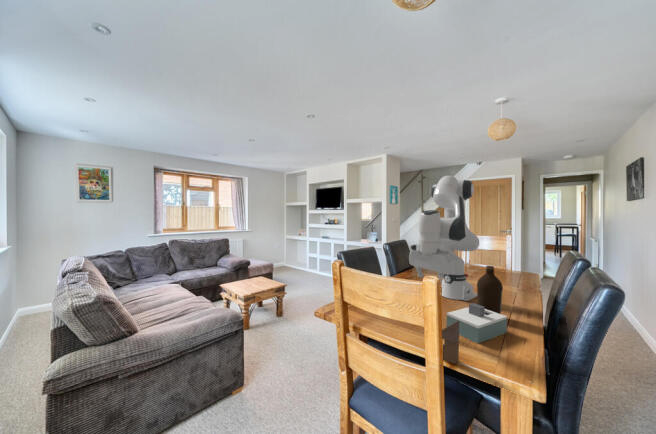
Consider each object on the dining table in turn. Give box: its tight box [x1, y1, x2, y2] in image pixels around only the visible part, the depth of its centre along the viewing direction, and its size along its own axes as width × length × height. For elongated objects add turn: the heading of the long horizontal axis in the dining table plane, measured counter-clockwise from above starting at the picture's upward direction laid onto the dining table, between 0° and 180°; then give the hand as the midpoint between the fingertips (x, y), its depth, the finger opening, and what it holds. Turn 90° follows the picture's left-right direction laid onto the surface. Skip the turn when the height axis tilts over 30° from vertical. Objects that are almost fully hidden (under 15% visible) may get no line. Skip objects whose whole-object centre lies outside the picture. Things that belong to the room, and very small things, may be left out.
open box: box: [446, 313, 508, 344], centre depth 110 cm, size 20×14×6 cm
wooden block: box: [441, 320, 460, 365], centre depth 90 cm, size 4×11×18 cm, turn 38°
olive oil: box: [476, 265, 504, 315], centre depth 124 cm, size 11×11×25 cm
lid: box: [446, 302, 508, 328], centre depth 109 cm, size 20×14×5 cm
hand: (429, 279), depth 110 cm, fingers open, 8 cm apart
